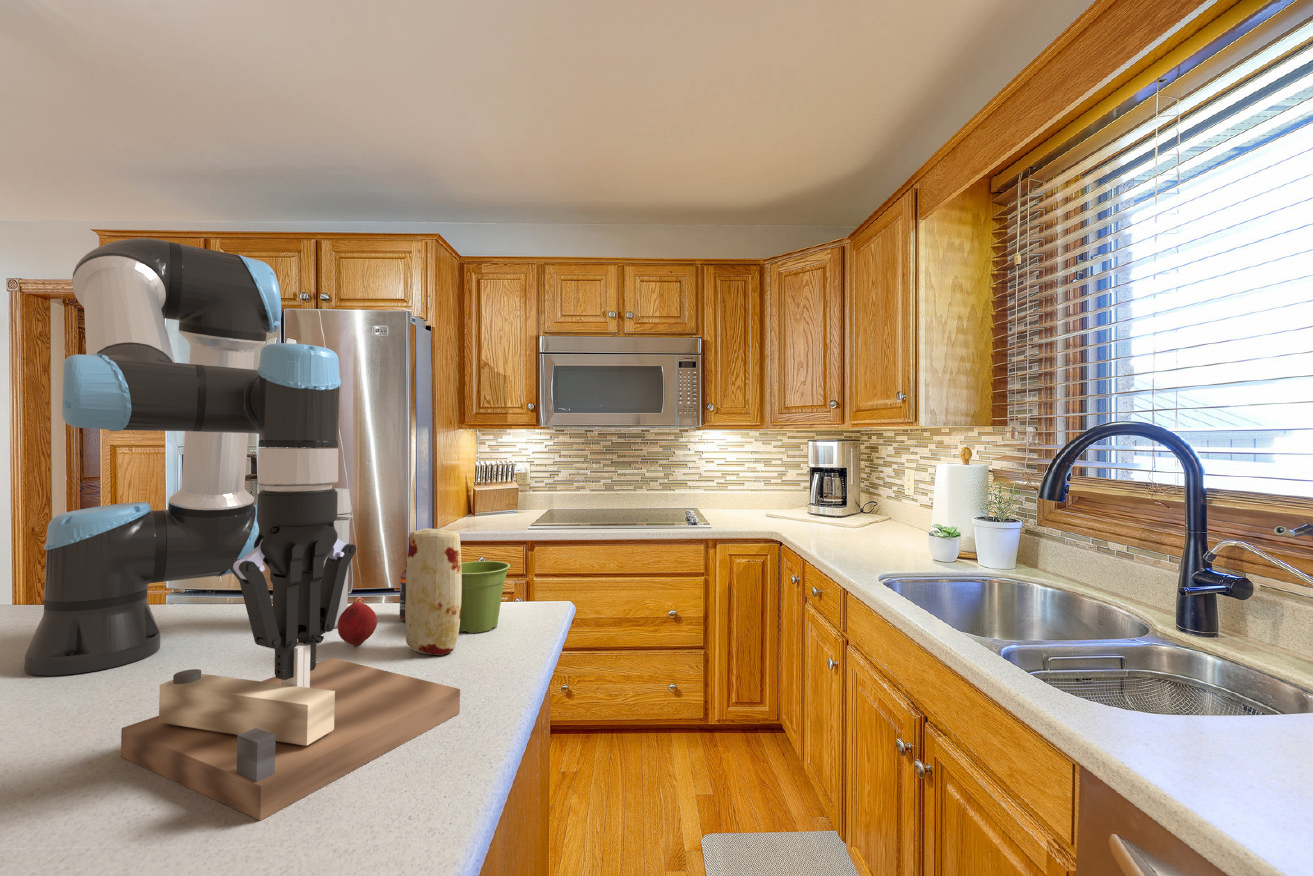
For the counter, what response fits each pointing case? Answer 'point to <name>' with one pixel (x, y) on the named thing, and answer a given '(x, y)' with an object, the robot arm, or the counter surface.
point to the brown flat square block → (283, 773)
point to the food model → (433, 591)
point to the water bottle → (344, 535)
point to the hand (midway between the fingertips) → (295, 704)
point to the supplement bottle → (403, 595)
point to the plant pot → (481, 594)
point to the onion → (357, 623)
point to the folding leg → (246, 706)
